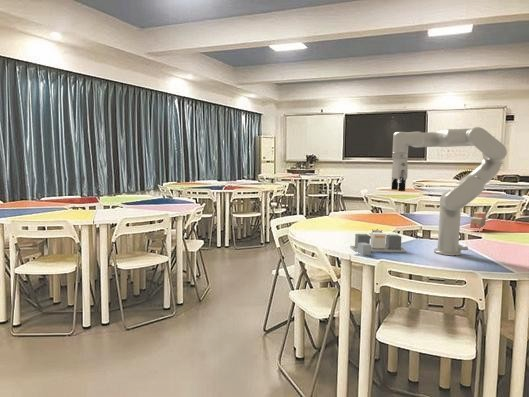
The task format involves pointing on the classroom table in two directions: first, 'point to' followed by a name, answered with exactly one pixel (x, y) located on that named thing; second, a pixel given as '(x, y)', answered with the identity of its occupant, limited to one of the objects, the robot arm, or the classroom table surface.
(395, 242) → the rail
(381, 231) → the grey spiky ball
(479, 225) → the stack of blocks
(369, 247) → the block
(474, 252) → the classroom table surface
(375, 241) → the block
